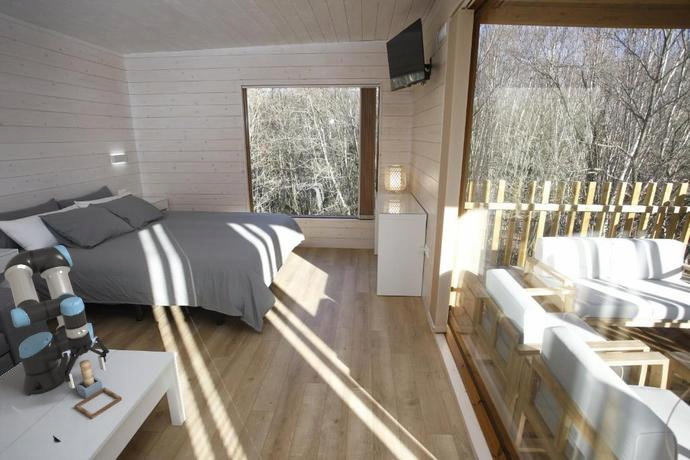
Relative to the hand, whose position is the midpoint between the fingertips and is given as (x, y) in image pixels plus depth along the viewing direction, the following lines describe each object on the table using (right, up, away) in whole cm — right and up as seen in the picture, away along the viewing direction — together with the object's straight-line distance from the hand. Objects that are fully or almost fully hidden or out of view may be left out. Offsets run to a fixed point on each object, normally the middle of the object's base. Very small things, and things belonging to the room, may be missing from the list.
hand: (88, 378), depth 161 cm
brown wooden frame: (+8, -10, -4) cm, 13 cm away
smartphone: (+1, -14, -15) cm, 20 cm away
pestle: (0, -7, +2) cm, 7 cm away
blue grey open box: (0, -8, +3) cm, 8 cm away
